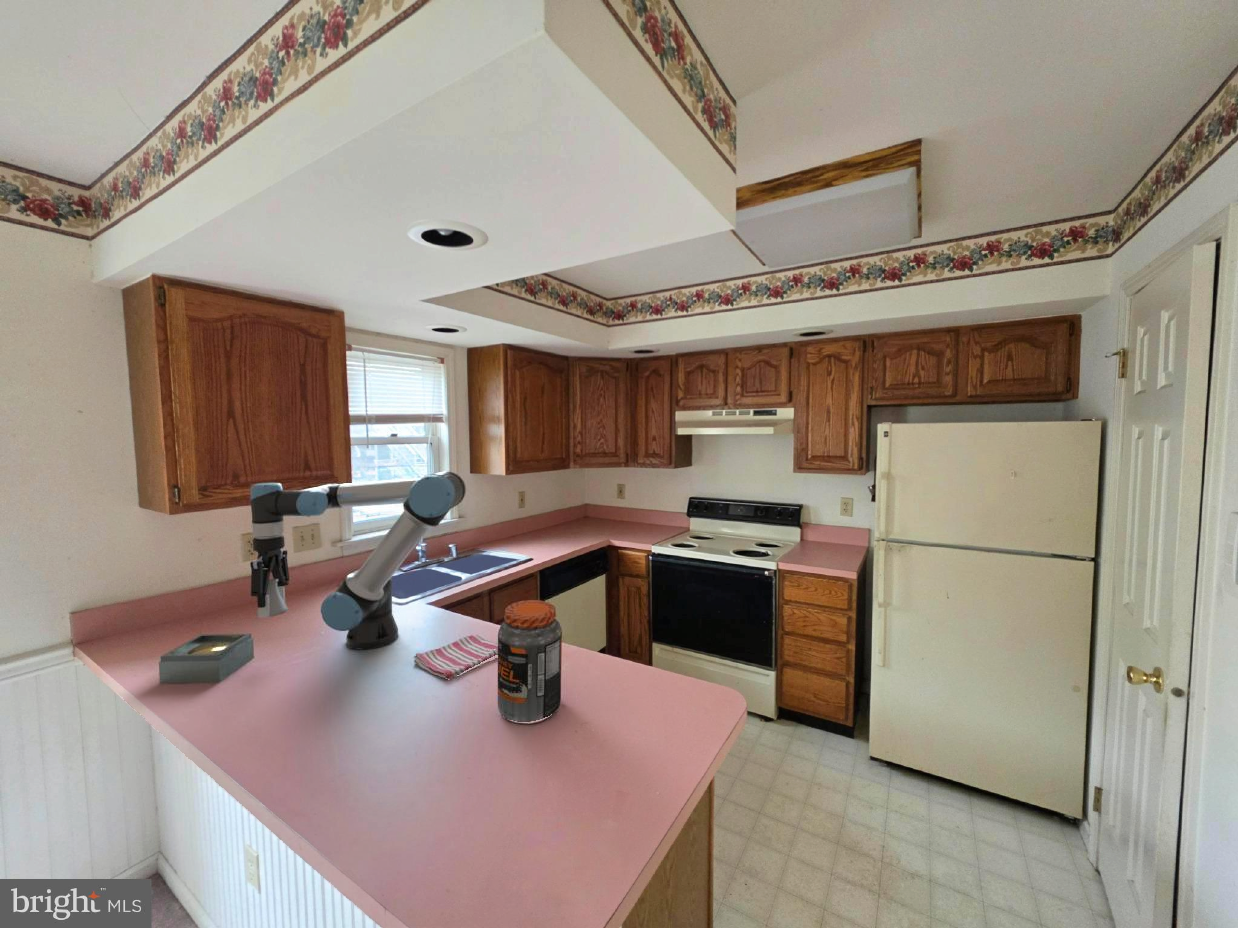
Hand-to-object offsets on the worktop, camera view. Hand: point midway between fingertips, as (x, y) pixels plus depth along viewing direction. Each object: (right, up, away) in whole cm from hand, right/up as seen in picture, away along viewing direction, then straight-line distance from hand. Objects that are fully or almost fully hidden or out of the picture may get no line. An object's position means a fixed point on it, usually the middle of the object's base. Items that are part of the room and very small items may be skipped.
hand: (272, 612), depth 144 cm
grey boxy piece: (-13, -14, -7) cm, 21 cm away
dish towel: (+55, -16, +4) cm, 57 cm away
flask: (0, -1, 0) cm, 1 cm away
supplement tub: (+80, -18, -22) cm, 85 cm away
